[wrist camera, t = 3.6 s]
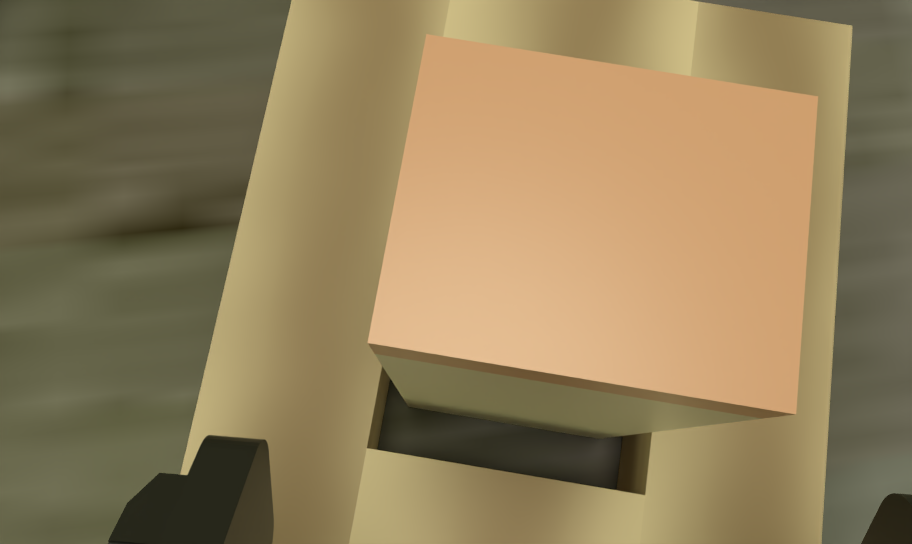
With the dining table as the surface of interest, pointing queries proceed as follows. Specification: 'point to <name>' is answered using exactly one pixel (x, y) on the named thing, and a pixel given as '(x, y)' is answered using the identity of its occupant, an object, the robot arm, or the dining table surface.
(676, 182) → the plug
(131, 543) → the robot arm
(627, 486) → the wooden peg board
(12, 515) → the dining table surface
